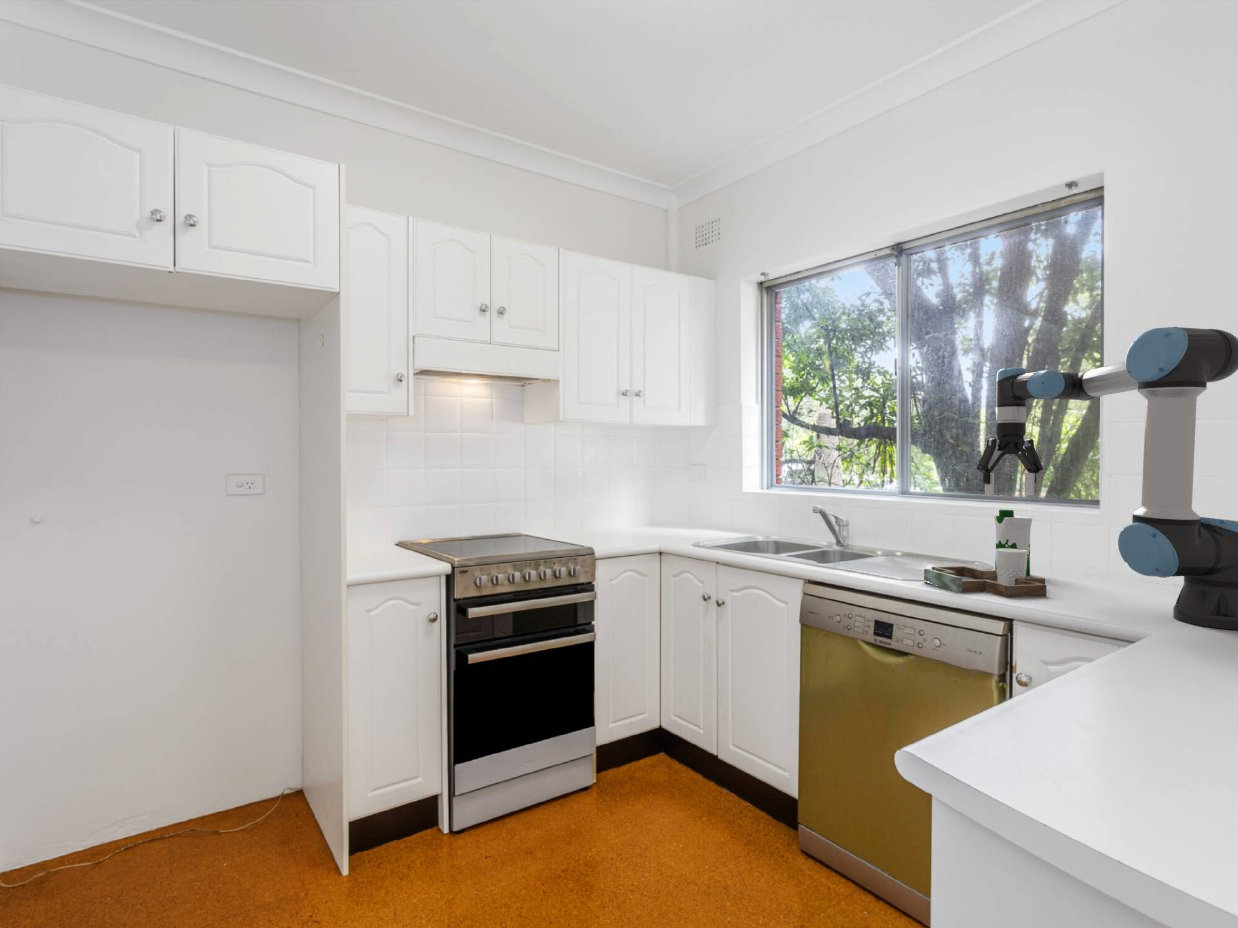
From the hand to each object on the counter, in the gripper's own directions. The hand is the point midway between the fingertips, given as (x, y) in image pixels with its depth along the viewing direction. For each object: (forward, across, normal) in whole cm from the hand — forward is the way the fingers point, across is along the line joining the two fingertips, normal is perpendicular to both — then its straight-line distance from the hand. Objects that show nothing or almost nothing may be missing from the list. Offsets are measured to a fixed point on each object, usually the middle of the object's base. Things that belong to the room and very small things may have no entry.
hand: (1009, 495), depth 195 cm
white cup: (+26, +1, +3) cm, 26 cm away
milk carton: (+26, -13, -13) cm, 32 cm away
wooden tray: (+25, +10, +2) cm, 27 cm away
